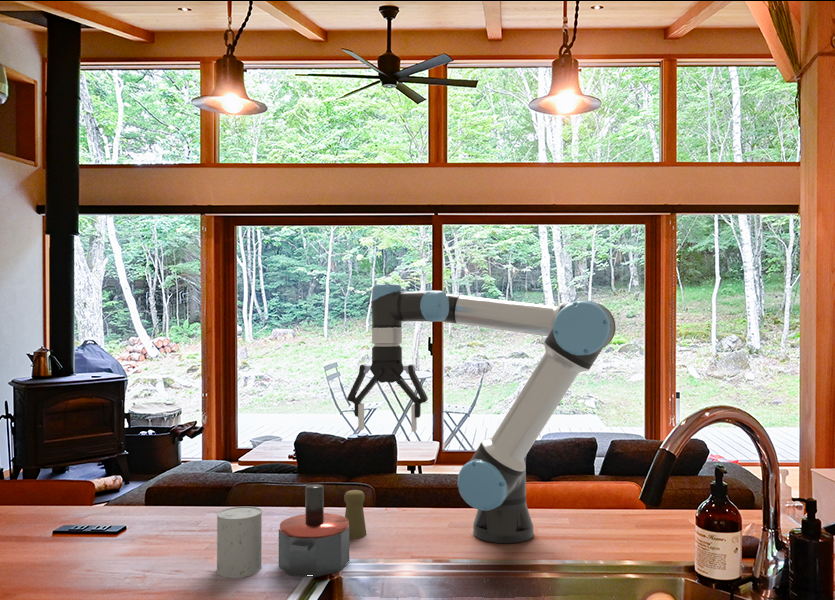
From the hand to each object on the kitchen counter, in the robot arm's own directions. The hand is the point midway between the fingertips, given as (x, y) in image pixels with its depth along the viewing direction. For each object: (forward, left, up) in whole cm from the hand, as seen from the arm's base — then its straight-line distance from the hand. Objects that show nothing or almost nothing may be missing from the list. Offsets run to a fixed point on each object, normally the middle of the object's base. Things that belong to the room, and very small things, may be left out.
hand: (387, 430), depth 164 cm
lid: (+12, +20, -21) cm, 31 cm away
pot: (+12, +20, -27) cm, 35 cm away
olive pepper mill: (+9, -1, -27) cm, 28 cm away
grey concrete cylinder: (+27, +26, -27) cm, 46 cm away
